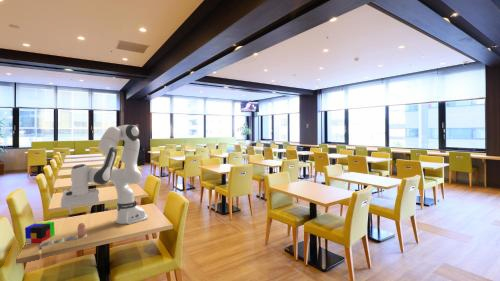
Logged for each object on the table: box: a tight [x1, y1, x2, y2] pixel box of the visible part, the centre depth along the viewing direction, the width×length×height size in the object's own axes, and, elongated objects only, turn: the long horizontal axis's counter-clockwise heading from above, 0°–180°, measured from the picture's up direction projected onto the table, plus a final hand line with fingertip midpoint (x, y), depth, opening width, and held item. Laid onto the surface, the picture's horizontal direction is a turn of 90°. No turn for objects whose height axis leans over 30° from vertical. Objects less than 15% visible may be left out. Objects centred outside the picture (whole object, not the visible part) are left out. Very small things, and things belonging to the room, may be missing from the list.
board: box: [37, 233, 88, 251], centre depth 162 cm, size 25×8×1 cm, turn 128°
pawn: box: [77, 222, 86, 238], centre depth 167 cm, size 4×4×8 cm
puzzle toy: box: [24, 221, 55, 245], centre depth 164 cm, size 10×10×10 cm
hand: (80, 212), depth 167 cm, fingers open, 8 cm apart
